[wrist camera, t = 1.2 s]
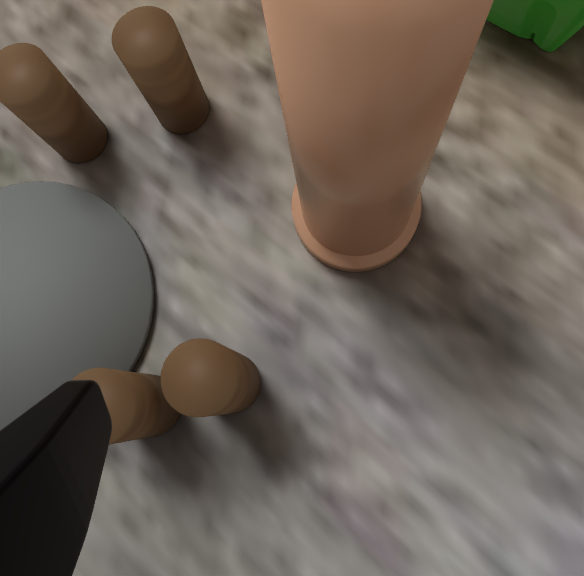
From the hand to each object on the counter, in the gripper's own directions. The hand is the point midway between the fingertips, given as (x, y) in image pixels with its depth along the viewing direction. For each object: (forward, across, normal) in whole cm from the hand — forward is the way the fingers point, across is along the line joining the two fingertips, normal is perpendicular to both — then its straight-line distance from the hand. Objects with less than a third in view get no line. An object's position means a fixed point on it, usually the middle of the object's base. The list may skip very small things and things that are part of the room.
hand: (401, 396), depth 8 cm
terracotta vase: (+15, 0, +4) cm, 15 cm away
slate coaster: (+12, +14, +6) cm, 20 cm away
